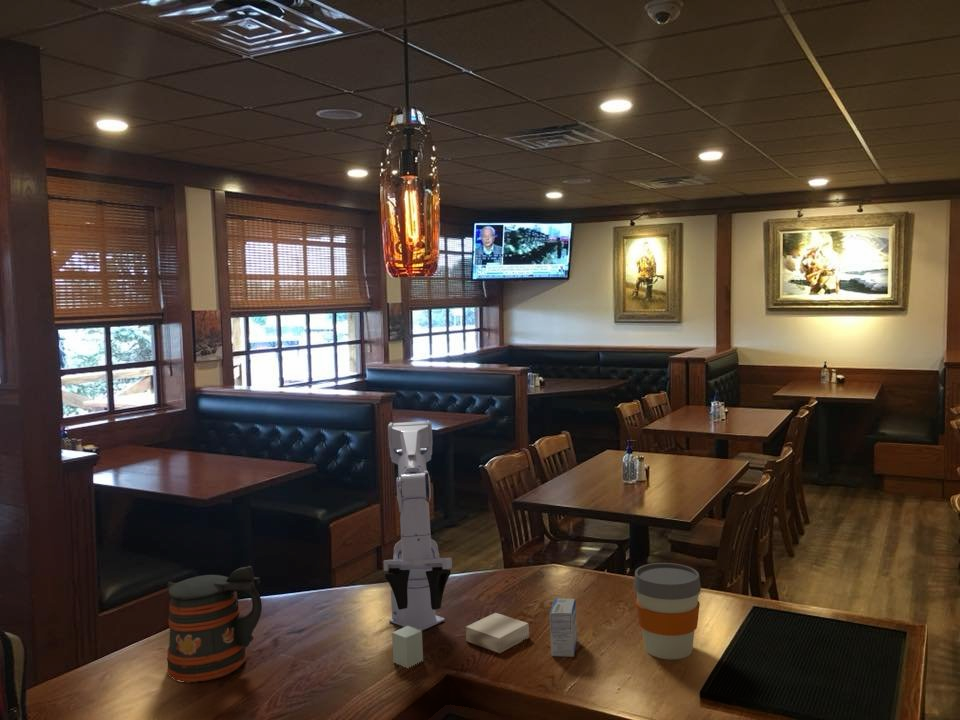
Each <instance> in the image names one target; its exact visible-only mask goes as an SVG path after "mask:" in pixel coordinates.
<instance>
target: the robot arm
mask: <svg viewBox="0 0 960 720" xmlns="http://www.w3.org/2000/svg"><path fill="white" fill-rule="evenodd" d="M387 434H388V449H389V457H390V459H391V463H394V464H396V465H397V468H398V469H397V471H398V472H397V476H398V477H396V499H397V503H398V511H399V513H400V516H399V521H400V522H399V523H400V540H398V541H397V543H395V544H394V547H393V556H392V557H393V558H392V559H387V560H386V559H385V560H383V571H384V572H385V571H388V572H385V573H384V577H385V579H386V580H387V583H388V585H389V586H390V588H391V590H390V599H391V600H390V601H391V603H390V604H391V605H390V606H391V617H390V618H389V621H388V622H390V623H393V624H395V625H397V626H400V627H402V628H404V627H406V626H410V627H413V628H415V629H418V630H421V631H422V632H423V631H424V630H427V629H429V628H431V627H433V626H435V625H438V624H440V623H441V622H444V621H445V618H444V617H442V616H440V615H437V614H436V610H440V609H441V607H442V601H443V595H444V592H445V588H446V585H447V582H448V580H449V577H451V576H450V575H451V573H452V572H451V569H453V559H452V557H440V553H439V545H438V544H437V542H436V541H435V540H434V539H433V538H432V535H431V519H430V518H431V517H430V515H431V513H430V502H431V499H432V496H431V495H432V492H431V491H432V490H431V477H430V474H429V471H428V470H427V463H428V462H429V461H431V460H432V455H433V443H434V441H433V425H432V422H431V421H430V420H428V419H427V420H424V421H423V420H422V421H421V420H420V421H406V422H403V421H402V422H391V421H390V422H389V423H388V424H387ZM427 499H428V501H427Z"/></svg>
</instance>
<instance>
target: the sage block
mask: <svg viewBox="0 0 960 720" xmlns="http://www.w3.org/2000/svg"><path fill="white" fill-rule="evenodd" d="M391 634H392V635H391V638H392V653H393V654H392V655H393V663H394V664H395V663H396V665H398V664H399V665H398V666H400V665H401V667H402V666H403V667H402V668H405V667H406V669H407V668H408V669H410V668H412V667H414V666H416V665H418V664H420V663H422V662H424V652H423V651H424V649H423V648H424V647H423V630H422V631H421V630H418V629H415V628H413V627H410V626H406V627H402V628H399V629H396V630H395V631H393V632H391ZM421 661H422V662H421ZM419 662H420V663H419ZM417 663H418V664H417ZM415 664H416V665H415ZM413 665H414V666H413ZM411 666H412V667H411ZM409 667H410V668H409Z"/></svg>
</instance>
